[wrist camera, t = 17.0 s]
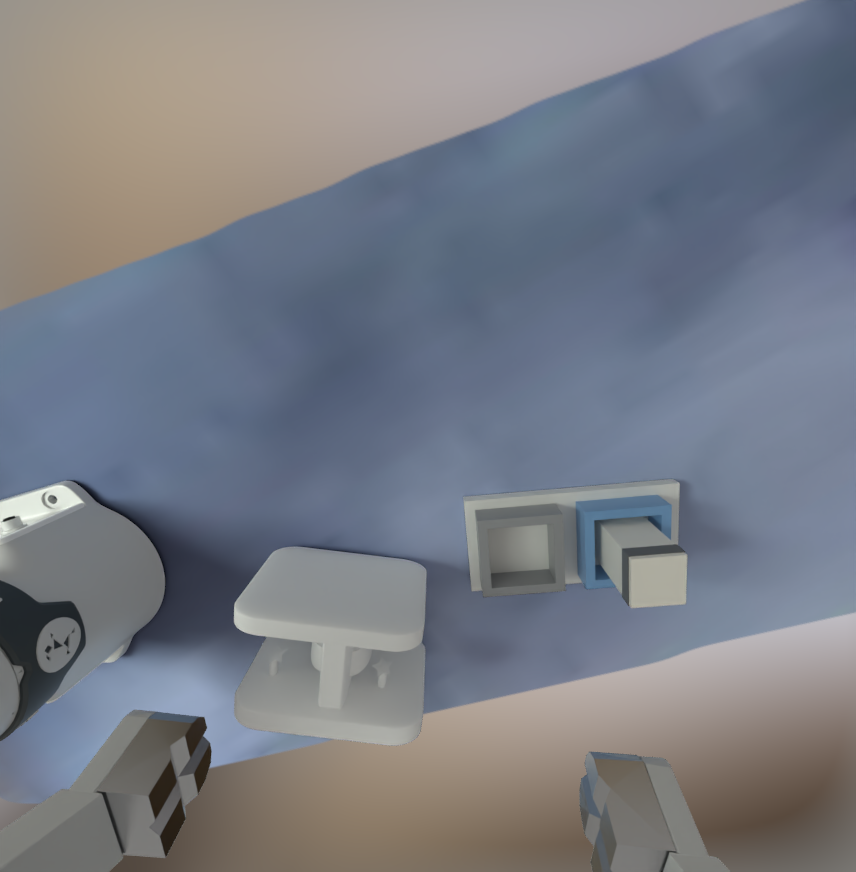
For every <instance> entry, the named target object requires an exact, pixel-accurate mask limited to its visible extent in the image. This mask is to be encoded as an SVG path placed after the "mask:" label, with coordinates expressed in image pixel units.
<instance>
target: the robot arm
mask: <svg viewBox="0 0 856 872" xmlns="http://www.w3.org/2000/svg"><path fill="white" fill-rule="evenodd" d="M54 496H55V497H56V498H57V500H56V499H55V497H54ZM164 592H165V575H164V569H163V566H162V562H161V560H160V557H159V555H158V553H157V551H156V549H155V547H154V546H153V544H152V543H151V541H150V540H149V539H148V537H147V536H146V535H145V534H144V533H143V532H142V531H141V530H140V529H139V528H138V527H137V526H136V525H135V524H134V523H132V522H131V521H130V520H128V519H127V518H125V517H124V516H122V515H120V514H118V513H116V512H114V511H112V510H110V509H108V508H106V507H104V506H102V505H100V504H99V503H97V502H96V501H95V500H94V499H93V498H92V497H91V496H90V495H89V494H88V493H87V492H86V491H85V490H84V489H83V488H82V487H81V486H79V485H78V484H76V483H75V482H72V481H62V482H59V483H56V484H52V485H49V486H46V487H42V488H39V489H36V490H32V491H29V492H26V493H22V494H19V495H16V496H12V497H9V498H6V499H2V500H0V741H2V740H3V739H5V738H6V737H8V736H9V735H10V734H11V733H12V732H13V731H15V730H16V729H17V728H19V727H20V726H22V725H23V724H24V723H25V722H27V721H28V720H29V719H31V718H32V717H33V716H34V715H35V714H36V713H37V712H38V711H39V710H38V709H39V708H40V707H41V706H43V705H44V704H45V703H51V702H54V701H56V700H57V699H59V698H60V697H61V696H63V695H64V694H65V693H66V692H67V691H69V690H70V689H71V688H72V687H74V686H75V685H76V684H77V683H78V682H80V681H81V680H82V679H83V678H85V677H86V676H87V675H88V674H89V673H91V672H92V671H93V670H94V669H95V668H97V667H98V666H99V665H100V664H101V663H103V662H107V663H111V662H114V661H116V660H117V659H119V658H120V657H121V656H122V655H123V654H124V653H125V652H126V651H127V649H128V647H129V645H130V642H131V640H132V638H133V636H134V635H135V633H137V632H138V631H139V630H140V629H141V628H143V627H144V626H145V625H146V624H147V623H148V622H150V621H151V619H152V618H153V617H154V616H155V614H156V613H157V611H158V610H159V608H160V606H161V603H162V600H163V597H164ZM206 729H207V726H206V722H205V718H204V717H198V716H189V715H180V714H170V713H161V712H154V711H143V710H133V711H132V712H130V713H129V714H128V715H126V716H125V717H124V718H123V720H122V721H121V722H120V724H119V725H118V726H117V728H116V729H115V730H114V731H113V733H112V734H111V735H110V737H109V738H108V739H107V741H106V742H105V743H104V744H103V746H102V747H101V748H100V750H99V751H98V752H97V754H96V755H95V756H94V758H93V759H92V760H91V761H90V763H89V764H88V765H87V767H86V768H85V769H84V771H83V772H82V773H81V774H80V776H79V777H78V778H77V780H76V781H75V782H74V784H73V785H72V786H71V787H70V789H61V790H60V791H58V792H57V793H55V794H54V795H52V796H51V797H49V798H48V799H47V800H45V801H44V802H42V803H41V804H39V805H38V806H36V807H35V808H33V809H32V810H30V811H29V812H27V813H26V814H24V815H23V816H22V817H20V818H19V819H17V820H16V821H14V822H13V823H11V824H10V825H9V826H7V827H5V828H4V829H2V830H1V831H0V872H109V871H110V870H111V869H112V868H113V867H114V866H115V865H116V864H117V863H119V861H121V860H122V859H123V855H134V856H147V857H159V858H166V856H167V855H168V853H169V850H170V849H171V847H172V845H173V843H174V841H175V839H176V837H177V835H178V833H179V831H180V829H181V827H182V825H183V823H184V821H185V819H186V817H185V805H186V804H187V803H189V802H190V801H191V800H192V799H194V798H195V797H196V796H197V795H198V794H199V792H200V790H201V787H202V786H203V784H204V782H205V780H206V777H207V773H208V770H209V767H210V763H211V746H210V742H209V741H208V740H207V739H206V738H204V737H203V735H204V733H205V731H206ZM585 767H586V772H587V775H585V776H584V777H583V778H581V784H580V811H581V818H582V824H583V829H584V834H585V836H586V837H587V838H588V839H589V841H590V842H591V843H592V845H593V846H594V849H593V854H592V858H591V866H592V871H593V872H730V871H729V869H728V868H727V867H726V866H725V865H724V864H723V863H722V862H721V861H720V860H719V859H718V858H717V857H711V856H709V855H708V853H707V850H706V848H705V846H704V843H703V841H702V839H701V837H700V834H699V831H698V829H697V827H696V825H695V822H694V820H693V817H692V815H691V813H690V810H689V808H688V805H687V803H686V801H685V799H684V796H683V794H682V791H681V789H680V787H679V784H678V782H677V780H676V777H675V775H674V772H673V770H672V768H671V766H670V764H669V763H668V762H667V760H666V759H663V758H656V757H640V756H637V755H627V754H614V753H600V752H589V753H588V754H587V755H586V760H585Z"/></svg>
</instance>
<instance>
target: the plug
mask: <svg viewBox="0 0 856 872" xmlns="http://www.w3.org/2000/svg"><path fill="white" fill-rule="evenodd" d="M594 532H595V558H596V559H597V560H598V562H599V563H600V565H601V566H602V568H603V569H604V570H605V572H606V573H607V575H608V576H609V577H610V579H611V580H612V582H613V583H614V585H615V586H616V587H617V589H618V590H619V592H620V593H621V594H622V597H623V599H624V600H625V602H626V603H627V605H628V606H630V607H631V608H642V607H655V606H669V605H682V604H686V583H687V554H686V553H685V551H684V550H683V549H682V548H680V547H679V546H678V545H677V544H674V543H673V542H672V541H671V540H670V539H669V538H668V537H667V536H665V535H664V534H663V533H662V532H661V531H660V530H659V529H657V528H656V527H655V526H654V525H653V524H652V523H651V522H650V521H648V520H647V519H646V518H645V517H644V516H641V517H629V518H617V519H605V520H594Z"/></svg>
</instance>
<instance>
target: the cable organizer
mask: <svg viewBox="0 0 856 872" xmlns="http://www.w3.org/2000/svg"><path fill="white" fill-rule="evenodd" d="M426 579H427V571H426V569H425V568H424V567H423V566H422V565H420V564H419V563H416V562H413V561H410V560H406V559H398V558H390V557H381V556H373V555H365V554H356V553H348V552H340V551H331V550H323V549H315V548H307V547H285V548H281V549H278V550H275V551H274V552H273V553H272V554H271V555H270V556H269V558H268V559H267V560H266V562H265V563H264V564H263V566H262V567H261V568H260V570H259V571H258V572H257V574H256V575H255V576H254V578H253V579H252V580H251V582H250V583H249V584H248V586H247V587H246V588H245V590H244V591H243V592H242V594H241V595H240V596H239V598H238V599H237V600H236V602H235V605H234V623H235V626H236V627H237V628H238V629H240V630H241V631H243V632H245V633H248V634H251V635H257V636H265V637H266V639H265V641H264V642H263V644H262V646H261V648H260V650H259V651H258V653H257V655H256V657H255V658H254V660H253V662H252V664H251V666H250V667H249V669H248V671H247V673H246V675H245V676H244V678H243V680H242V682H241V683H240V685H239V687H238V689H237V691H236V693H235V703H234V715H235V718H236V719H237V721H238V722H239V723H240V724H242V725H243V726H245V727H247V728H250V729H254V730H261V731H270V732H278V733H287V734H294V735H304V736H312V737H321V738H329V739H338V740H347V741H355V742H364V743H372V744H381V745H391V746H396V745H403V744H407V743H409V742H411V741H413V740H415V739H416V738H417V737H418V735H419V734H420V731H421V725H422V718H423V706H424V678H425V646H424V645H423V643H421V642H422V639H423V632H424V624H425V603H426Z"/></svg>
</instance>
